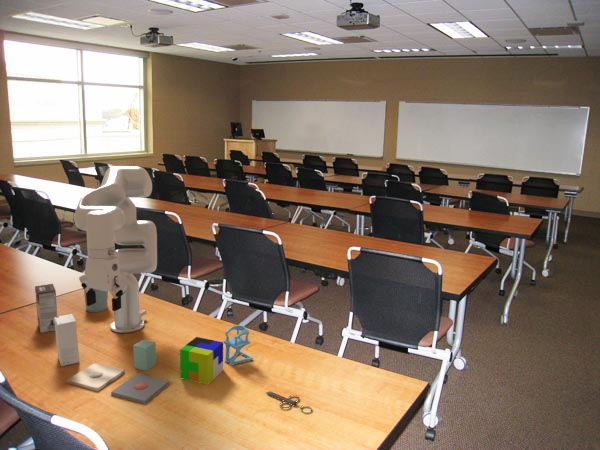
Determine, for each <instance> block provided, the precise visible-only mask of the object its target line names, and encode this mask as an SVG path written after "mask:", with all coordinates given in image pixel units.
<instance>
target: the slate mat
mask: <svg viewBox="0 0 600 450" xmlns="http://www.w3.org/2000/svg"><path fill="white" fill-rule="evenodd" d="M168 385H170V380H166V379H163V378H158V377H153V376H150V375H146V374H143V373H138V372H137V373H136V374H135V375H133V376H131V377H130V378H129V379H127V380H126V381H124V382H123V383H121V385H120V384H119V386H117V387H116V388H114V389H113V390H112V391H110V395H111V396H113V397H118V398H122V399H124V400H125V399H126V400H128V401H132V402H137V403H140V404H144V405H145V404H147V403H148V402H150V400H152V399H153V398H154V397H155V396H156V395H157V394H159V393H161V391H163V390H164V389H165V388H167V387H168Z"/></svg>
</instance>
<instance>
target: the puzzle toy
mask: <svg viewBox="0 0 600 450" xmlns="http://www.w3.org/2000/svg"><path fill="white" fill-rule="evenodd" d="M179 371H180V372H179V373H180V374H179V375H180V376H179V377H180V379H182V380H186V381H192V382H196V383H200V384H204V385H209V384H210V383H211V382H212V381H214V379H216V377H218V375H220V374H221V372H222V371H224V341H219V340H214V339H208V338H204V337H201V336H200V337H199V336H196V337H195V338H193V339H191V340H190V341H189V342H188V343H186V344H185V345H184V346H183V347H181V348H179Z"/></svg>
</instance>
